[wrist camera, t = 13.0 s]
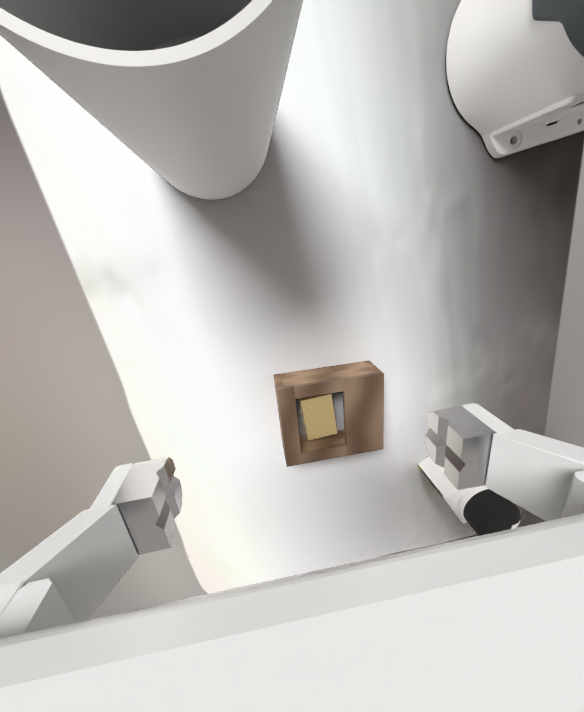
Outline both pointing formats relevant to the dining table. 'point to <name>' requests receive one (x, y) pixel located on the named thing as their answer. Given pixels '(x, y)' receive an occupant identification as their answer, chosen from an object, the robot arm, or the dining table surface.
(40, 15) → the cylinder vase
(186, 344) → the dining table surface
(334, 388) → the brown wooden frame
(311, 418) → the brushed brass pillar
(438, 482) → the medicine bottle
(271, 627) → the robot arm
